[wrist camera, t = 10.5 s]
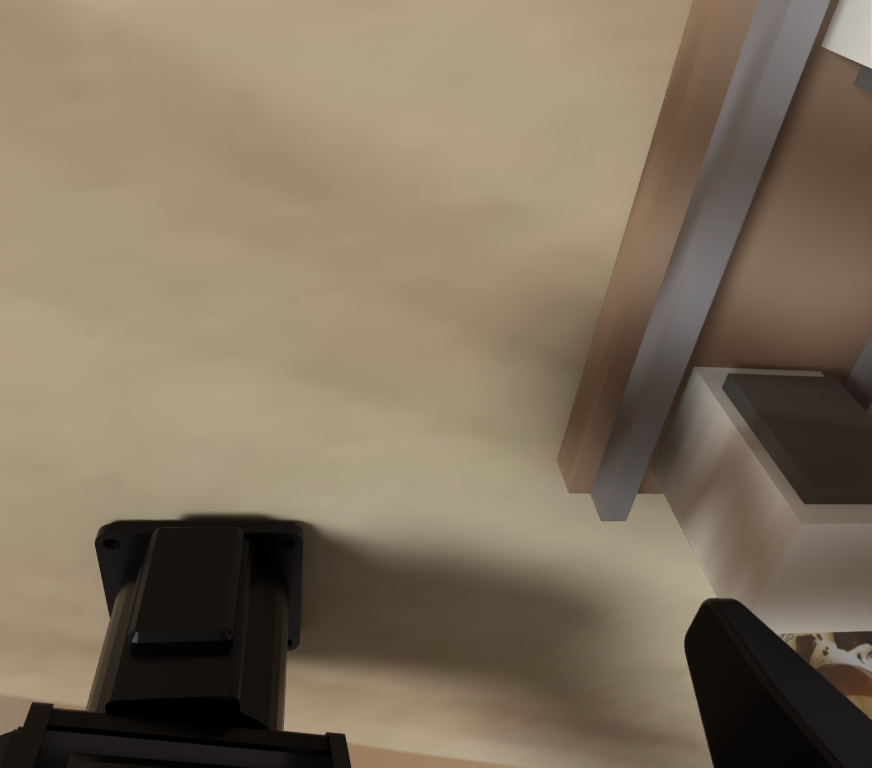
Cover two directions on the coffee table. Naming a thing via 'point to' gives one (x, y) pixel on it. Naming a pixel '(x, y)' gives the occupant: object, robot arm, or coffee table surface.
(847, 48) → the off-white square prism
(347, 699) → the coffee table surface
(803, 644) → the coffee box
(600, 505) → the rail
